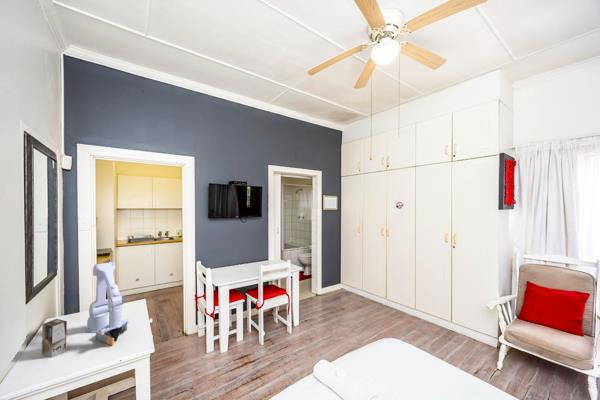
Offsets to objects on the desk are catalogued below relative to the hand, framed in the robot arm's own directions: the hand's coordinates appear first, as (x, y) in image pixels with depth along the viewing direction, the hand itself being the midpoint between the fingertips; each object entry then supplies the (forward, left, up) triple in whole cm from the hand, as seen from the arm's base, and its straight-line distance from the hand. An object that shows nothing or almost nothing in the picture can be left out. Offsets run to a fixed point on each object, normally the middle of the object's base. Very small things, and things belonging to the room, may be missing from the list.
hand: (114, 340), depth 139 cm
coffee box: (-26, -9, -2) cm, 28 cm away
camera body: (-9, +10, -2) cm, 13 cm away
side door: (-7, +1, -1) cm, 7 cm away
